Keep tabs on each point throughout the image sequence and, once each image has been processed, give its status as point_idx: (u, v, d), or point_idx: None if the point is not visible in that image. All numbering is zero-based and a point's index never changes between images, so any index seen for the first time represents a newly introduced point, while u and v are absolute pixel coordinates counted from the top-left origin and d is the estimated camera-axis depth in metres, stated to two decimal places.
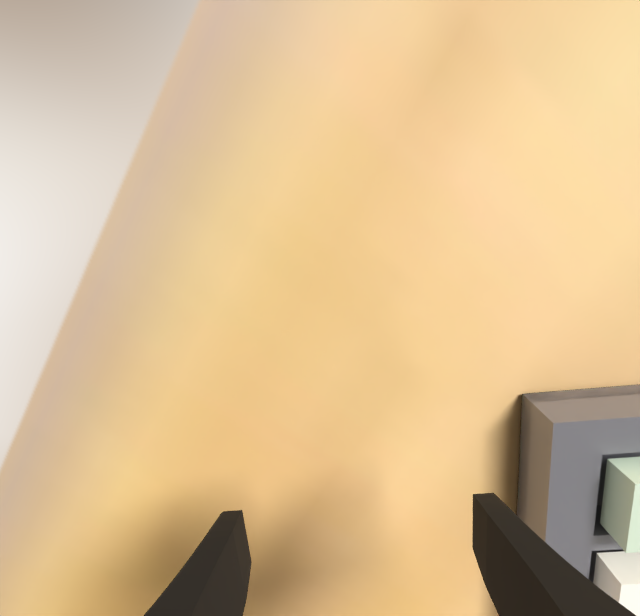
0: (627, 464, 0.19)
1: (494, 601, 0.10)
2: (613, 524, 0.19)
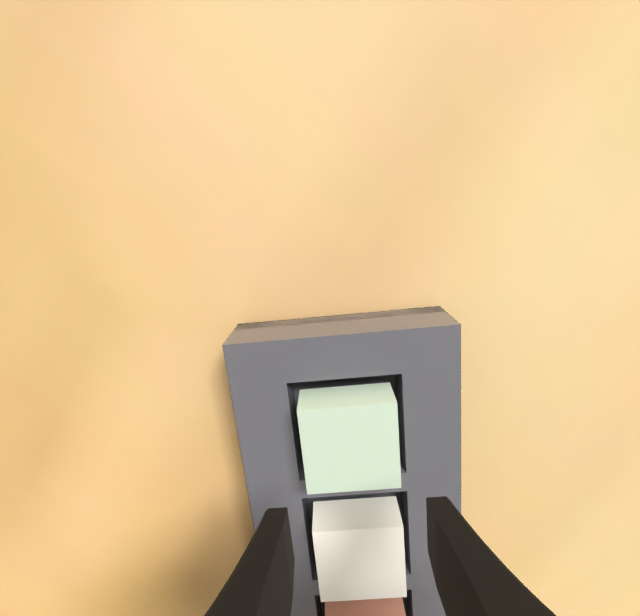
0: (313, 393, 0.16)
1: (443, 604, 0.10)
2: None
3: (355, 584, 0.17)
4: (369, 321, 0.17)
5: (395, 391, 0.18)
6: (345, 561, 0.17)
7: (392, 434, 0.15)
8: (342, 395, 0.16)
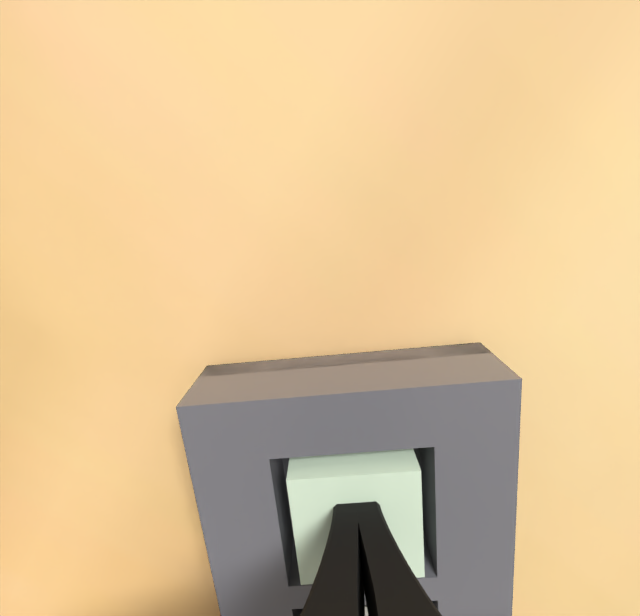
0: None
1: (367, 608, 0.11)
2: None
3: None
4: (386, 367, 0.12)
5: (419, 458, 0.14)
6: None
7: (414, 511, 0.11)
8: (347, 455, 0.12)
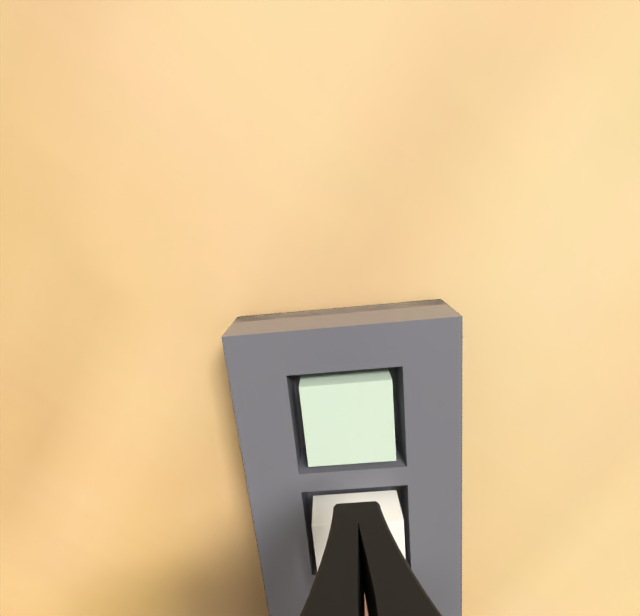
0: (314, 373, 0.17)
1: (367, 608, 0.11)
2: None
3: None
4: (370, 313, 0.17)
5: (396, 384, 0.18)
6: None
7: (387, 409, 0.16)
8: (341, 374, 0.17)
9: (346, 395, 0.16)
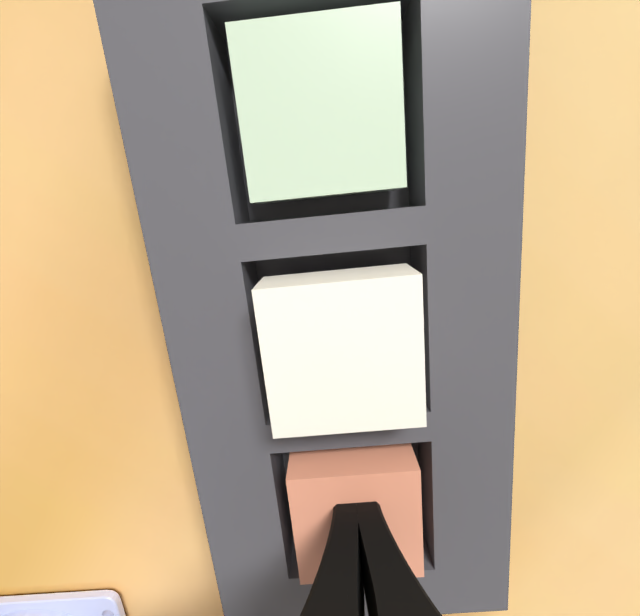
0: None
1: (367, 608, 0.11)
2: None
3: (334, 401, 0.10)
4: None
5: (404, 92, 0.11)
6: (314, 352, 0.09)
7: (391, 72, 0.09)
8: None
9: (314, 40, 0.09)
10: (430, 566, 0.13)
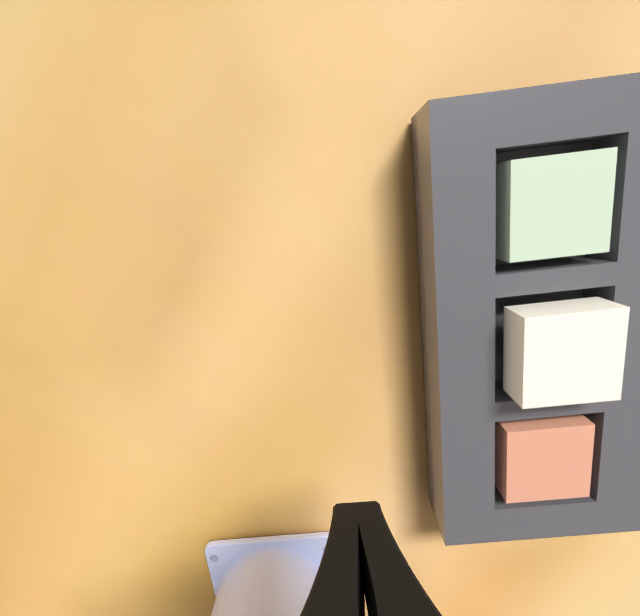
0: None
1: (367, 608, 0.11)
2: (499, 241, 0.16)
3: (564, 385, 0.15)
4: None
5: None
6: (557, 355, 0.15)
7: (608, 186, 0.15)
8: None
9: (563, 168, 0.15)
10: (592, 499, 0.19)
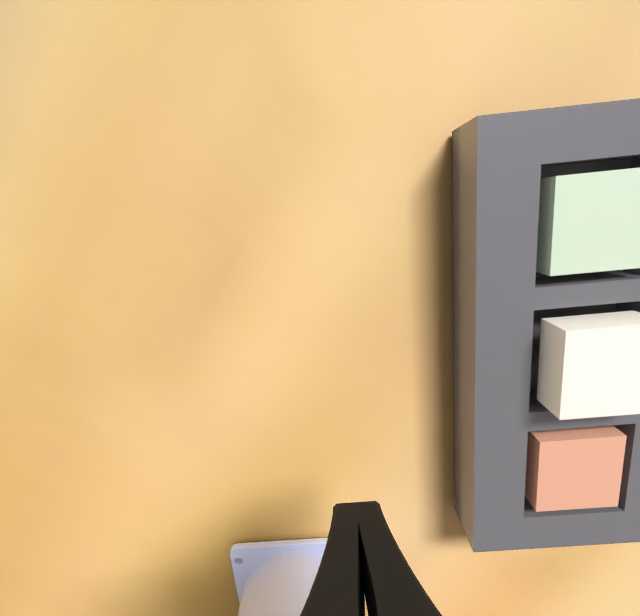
0: None
1: (367, 608, 0.11)
2: (538, 254, 0.16)
3: (602, 397, 0.16)
4: None
5: None
6: (596, 367, 0.15)
7: None
8: None
9: (607, 185, 0.15)
10: (620, 509, 0.19)
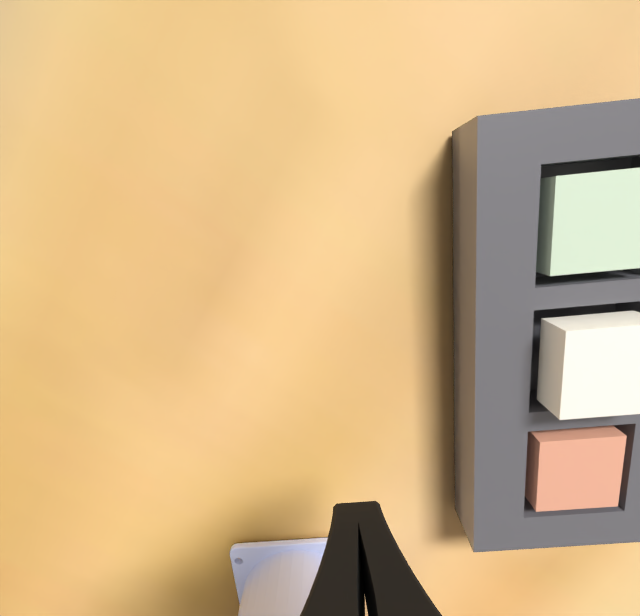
0: None
1: (367, 608, 0.11)
2: (538, 254, 0.16)
3: (602, 397, 0.16)
4: None
5: None
6: (596, 367, 0.15)
7: None
8: None
9: (607, 185, 0.15)
10: (620, 509, 0.19)
